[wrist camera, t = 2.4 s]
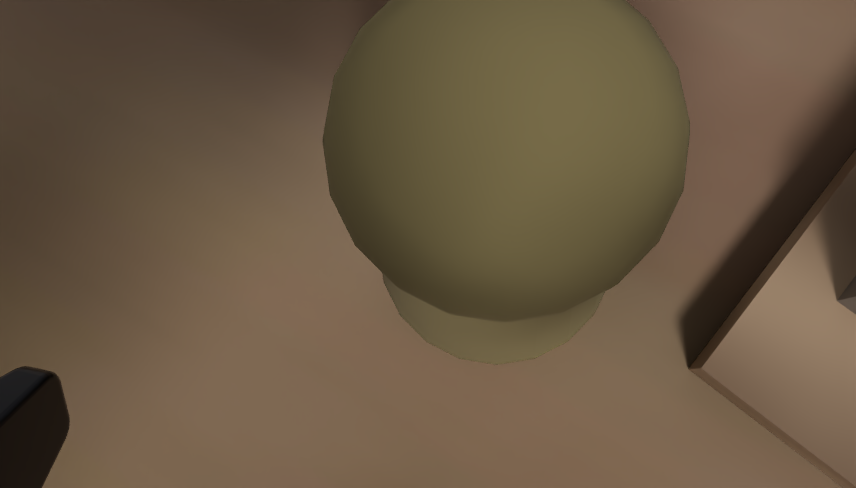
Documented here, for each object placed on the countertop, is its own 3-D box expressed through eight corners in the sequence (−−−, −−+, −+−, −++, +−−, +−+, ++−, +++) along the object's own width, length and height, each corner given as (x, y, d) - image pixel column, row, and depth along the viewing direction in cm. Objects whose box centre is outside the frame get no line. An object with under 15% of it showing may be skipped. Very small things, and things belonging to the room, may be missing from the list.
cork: (470, 413, 20) (453, 451, 9) (333, 222, 21) (177, 60, 11) (663, 270, 21) (861, 147, 10) (518, 88, 22) (551, -205, 11)
